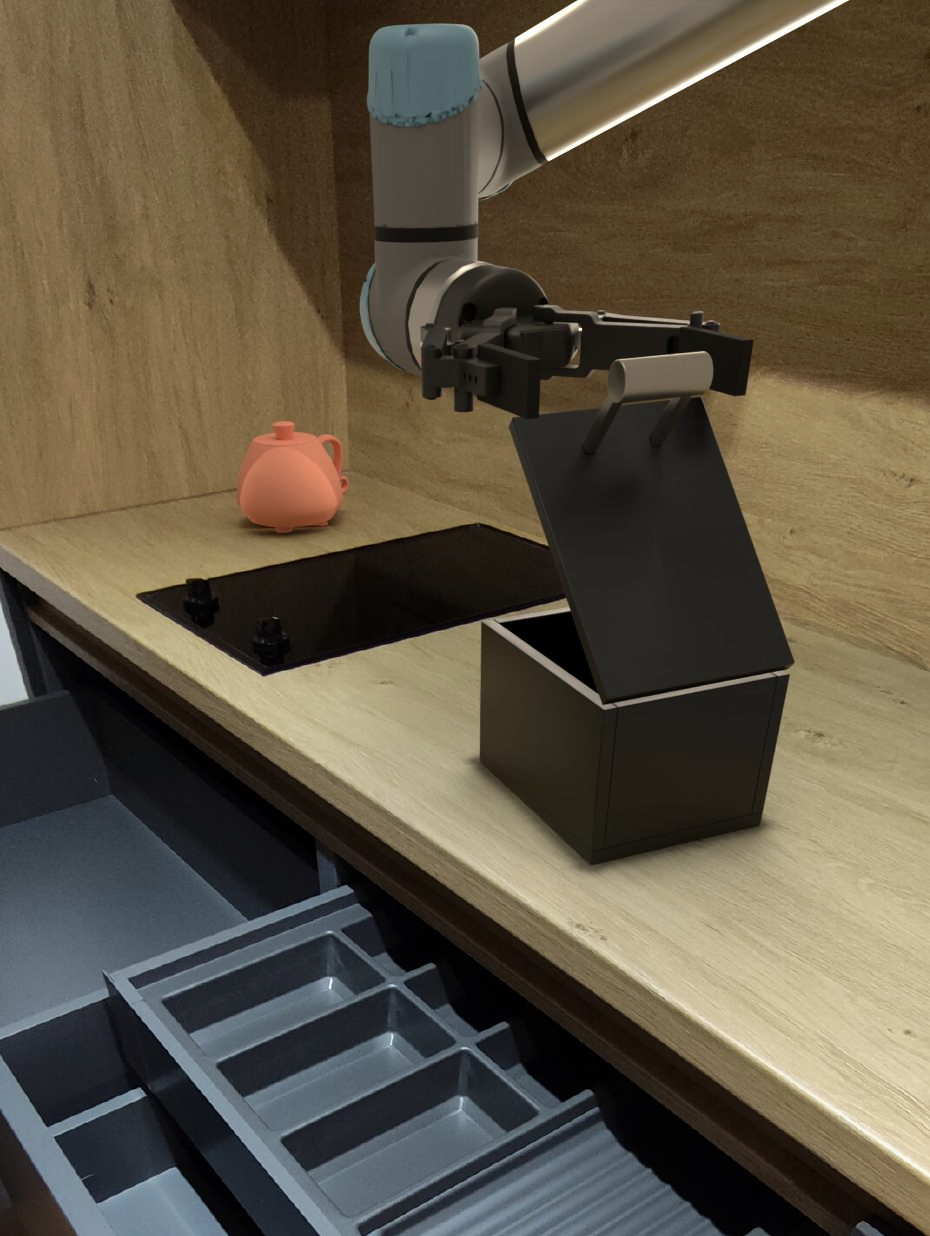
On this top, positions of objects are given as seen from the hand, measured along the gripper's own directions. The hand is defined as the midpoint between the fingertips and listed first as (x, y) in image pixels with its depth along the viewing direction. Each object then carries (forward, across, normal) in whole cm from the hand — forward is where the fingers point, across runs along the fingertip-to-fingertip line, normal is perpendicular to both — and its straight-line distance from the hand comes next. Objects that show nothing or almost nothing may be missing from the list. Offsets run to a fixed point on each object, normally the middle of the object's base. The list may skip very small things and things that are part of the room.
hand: (642, 378), depth 62 cm
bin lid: (+3, 0, -8) cm, 9 cm away
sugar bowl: (-76, -2, -24) cm, 80 cm away
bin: (+1, 0, -24) cm, 24 cm away
